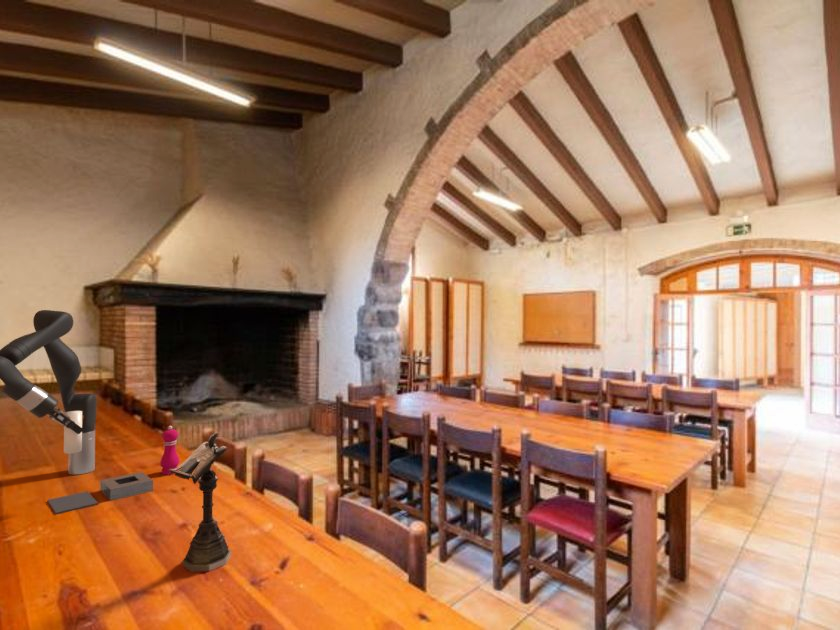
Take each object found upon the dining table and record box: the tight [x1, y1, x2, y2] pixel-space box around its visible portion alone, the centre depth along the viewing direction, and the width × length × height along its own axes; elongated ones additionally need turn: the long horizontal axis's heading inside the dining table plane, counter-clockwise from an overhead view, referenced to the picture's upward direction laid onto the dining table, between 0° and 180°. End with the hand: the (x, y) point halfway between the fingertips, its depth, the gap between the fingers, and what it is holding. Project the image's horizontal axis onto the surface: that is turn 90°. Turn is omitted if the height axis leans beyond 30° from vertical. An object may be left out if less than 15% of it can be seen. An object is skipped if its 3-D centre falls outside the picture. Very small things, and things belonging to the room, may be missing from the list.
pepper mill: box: [160, 425, 180, 476], centre depth 204 cm, size 7×7×20 cm
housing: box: [100, 471, 154, 501], centre depth 182 cm, size 14×14×4 cm
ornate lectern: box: [168, 432, 232, 573], centre depth 128 cm, size 17×13×35 cm
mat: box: [47, 490, 99, 515], centre depth 170 cm, size 16×12×1 cm
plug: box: [63, 411, 83, 455], centre depth 170 cm, size 5×5×14 cm
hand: (79, 430), depth 172 cm, fingers closed on plug, 5 cm apart
